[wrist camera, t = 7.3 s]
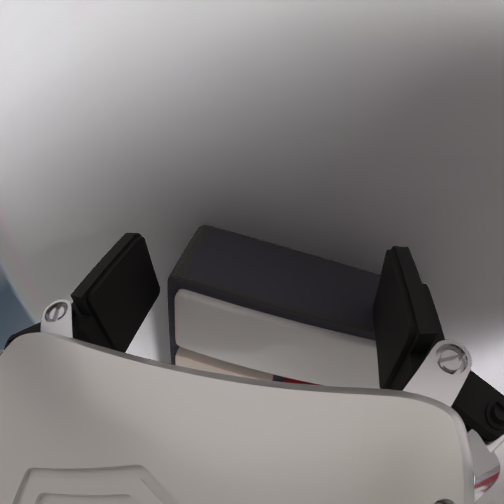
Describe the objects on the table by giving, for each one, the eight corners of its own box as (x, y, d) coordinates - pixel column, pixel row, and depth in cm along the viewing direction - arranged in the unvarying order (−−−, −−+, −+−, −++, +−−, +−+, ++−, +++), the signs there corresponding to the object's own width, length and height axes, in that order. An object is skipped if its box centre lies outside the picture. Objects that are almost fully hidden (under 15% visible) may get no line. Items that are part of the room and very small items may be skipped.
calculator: (172, 416, 19) (156, 288, 10) (189, 371, 23) (198, 221, 13) (309, 450, 19) (439, 360, 9) (316, 404, 22) (421, 285, 13)
